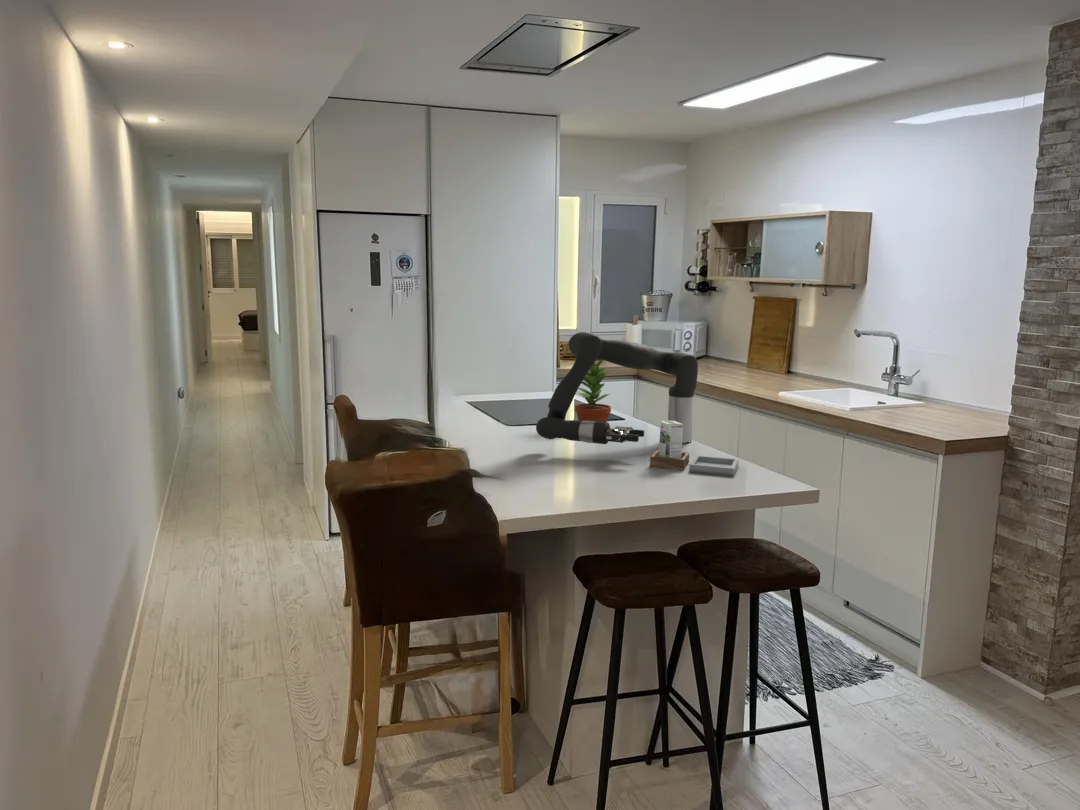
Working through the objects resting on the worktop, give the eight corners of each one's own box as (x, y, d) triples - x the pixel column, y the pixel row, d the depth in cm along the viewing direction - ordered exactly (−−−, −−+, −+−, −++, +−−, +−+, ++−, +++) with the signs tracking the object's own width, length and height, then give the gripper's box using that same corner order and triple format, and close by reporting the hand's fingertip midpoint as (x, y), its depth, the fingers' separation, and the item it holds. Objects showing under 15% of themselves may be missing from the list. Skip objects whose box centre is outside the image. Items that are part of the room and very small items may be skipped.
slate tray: (695, 462, 273) (696, 455, 273) (738, 466, 269) (738, 458, 268) (689, 472, 260) (689, 464, 260) (733, 476, 256) (734, 468, 255)
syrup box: (657, 463, 271) (659, 420, 268) (673, 462, 273) (675, 420, 270) (666, 467, 265) (667, 424, 263) (681, 466, 267) (683, 423, 265)
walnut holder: (656, 459, 276) (656, 449, 275) (688, 462, 272) (689, 452, 272) (649, 467, 266) (650, 456, 265) (683, 470, 262) (684, 459, 261)
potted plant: (616, 426, 332) (618, 353, 327) (601, 433, 319) (604, 356, 313) (583, 422, 339) (585, 351, 333) (567, 429, 325) (569, 354, 320)
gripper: (588, 425, 269) (636, 428, 263) (600, 417, 282) (646, 421, 277) (588, 447, 270) (636, 451, 265) (599, 438, 283) (645, 442, 278)
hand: (641, 436), depth 271 cm, fingers open, 8 cm apart
